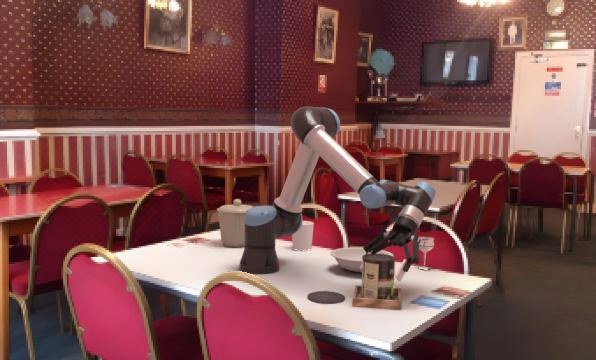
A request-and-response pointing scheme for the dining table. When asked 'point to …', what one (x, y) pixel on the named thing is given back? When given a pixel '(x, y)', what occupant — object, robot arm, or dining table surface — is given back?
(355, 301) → the oak caddy
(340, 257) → the soup bowl
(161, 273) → the dining table surface
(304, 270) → the dining table surface
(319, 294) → the black coaster
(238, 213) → the canister
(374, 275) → the coffee can
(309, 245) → the candle holder
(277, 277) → the dining table surface
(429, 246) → the wineglass
